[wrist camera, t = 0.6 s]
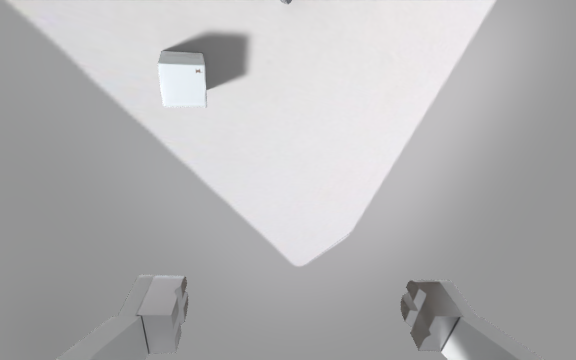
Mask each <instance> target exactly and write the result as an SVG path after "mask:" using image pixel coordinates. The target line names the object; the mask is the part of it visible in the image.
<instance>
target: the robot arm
mask: <svg viewBox="0 0 576 360" xmlns="http://www.w3.org/2000/svg"><path fill="white" fill-rule="evenodd" d="M186 286H187V280H186V277H185V276H165V275H140V276H139V277H138V278H137V279H136V281H135V283H134V285H133V287H132V289H131V290H130V292H129V294H128V296H127V298H126V300H125V302H124V304H123V306H122V308H121V310H120V312H119V314H118V316H112V317H111V318H109V319H108V320H107V321H106V322H104V323H103V324H102V325H100V326H99V327H97V328H96V329H95V330H94V331H92V332H91V333H89V334H88V335H87V336H86V337H84V338H83V339H81V340H80V341H79V342H77V343H76V344H75V345H73V346H72V347H71V348H69V349H68V350H67V351H65V352H64V353H63V354H62V355H60V356H59V357H58V358H56V359H55V360H145V359H146V358H147V357H148V355H149V354H158V353H176V351H177V348H178V344H179V340H180V337H181V325H182V324H183V323H184V322H185V318H186V314H187V308H188V293H187V292H186V291H185V289H186ZM406 288H407V290H408V292H407V293H406V294H404V295H403V296H402V299H401V312H402V316H403V318H404V321H405V322H406V323H407V324H408V325H409V326H410V327H412V328H411V332H410V334H411V336H412V338H413V340H414V342H415V344H416V346H417V348H418V350H419V351H442V352H441V353H442V354H443V355H444V356H445V357H446V358H447V359H448V360H544V359H543V358H542V357H540V356H539V355H537V354H535V353H534V352H533V351H531V350H530V349H528V348H527V347H525V346H524V345H522V344H521V343H519V342H518V341H516V340H515V339H513V338H512V337H510V336H509V335H507V334H506V333H505V332H503V331H501V330H500V329H499V328H497V327H496V326H494V325H493V324H491V323H490V322H488V321H487V320H485V319H484V318H482V317H480V318H479V317H478V316H477V315H476V314H475V312H474V311H473V309H472V308H471V307H470V305H469V304H468V302H467V301H466V300H465V298H464V297H463V296H462V294H461V293H460V292H459V290H458V289H457V288H456V286H455V285H454V283H452V282H451V281H450V280H410V281H409V282H408V284H407V286H406Z"/></svg>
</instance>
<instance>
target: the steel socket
mask: <svg viewBox="0 0 576 360" xmlns="http://www.w3.org/2000/svg"><path fill="white" fill-rule="evenodd" d="M291 1H292V0H281V2H282V3H286V4H289V3H290V2H291Z"/></svg>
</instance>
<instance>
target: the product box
mask: <svg viewBox="0 0 576 360" xmlns="http://www.w3.org/2000/svg"><path fill="white" fill-rule="evenodd" d="M158 73H159V81H160V89H161V97H162V103H163V107H207V95H206V70H205V62H204V57H203V54H202V53H191V52H172V51H161V54H160V58H159V61H158Z"/></svg>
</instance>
